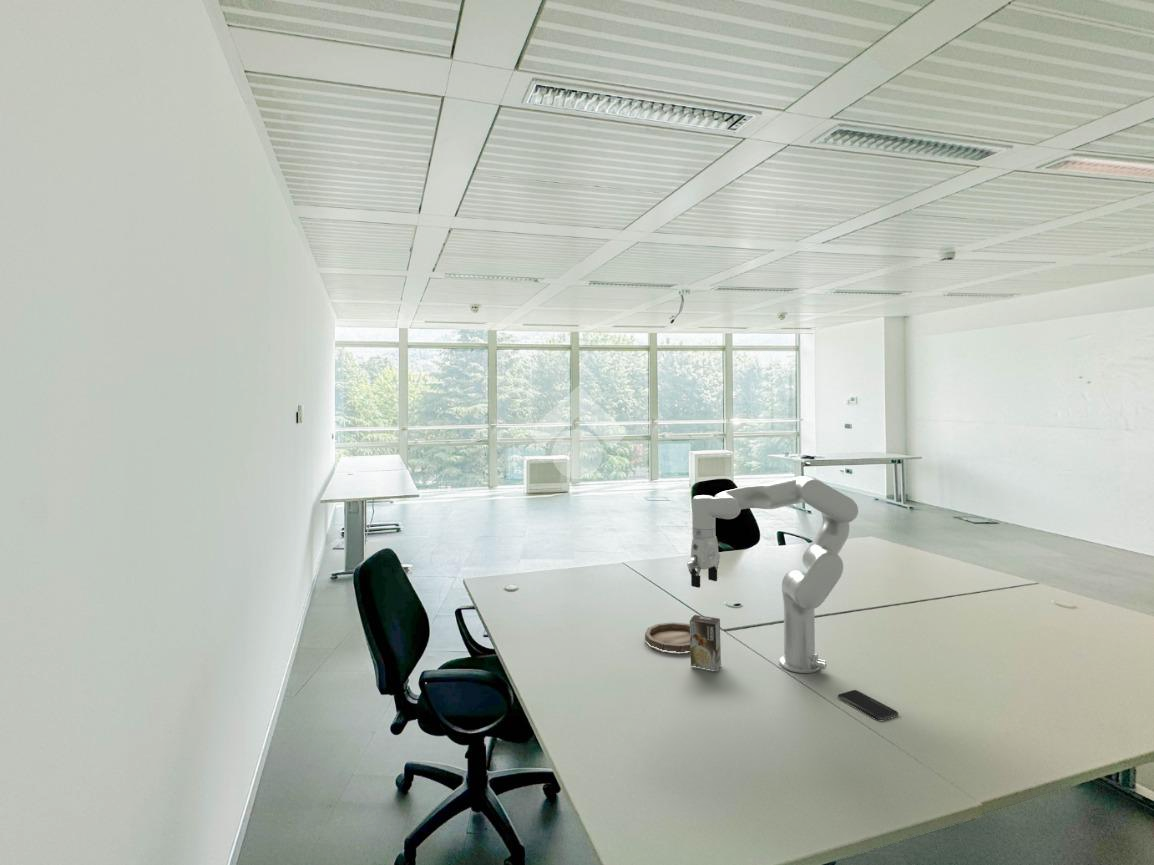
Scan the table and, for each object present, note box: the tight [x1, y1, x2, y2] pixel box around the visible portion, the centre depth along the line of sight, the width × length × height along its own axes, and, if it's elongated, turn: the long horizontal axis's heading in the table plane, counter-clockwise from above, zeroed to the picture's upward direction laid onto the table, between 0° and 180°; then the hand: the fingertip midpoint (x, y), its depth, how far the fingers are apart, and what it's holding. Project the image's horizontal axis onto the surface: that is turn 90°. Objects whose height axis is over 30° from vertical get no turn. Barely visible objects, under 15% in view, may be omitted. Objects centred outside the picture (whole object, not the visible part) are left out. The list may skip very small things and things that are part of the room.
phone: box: [837, 689, 899, 721], centre depth 168 cm, size 8×1×15 cm
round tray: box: [644, 622, 690, 652], centre depth 218 cm, size 22×22×3 cm
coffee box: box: [689, 614, 722, 671], centre depth 196 cm, size 9×6×16 cm
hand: (704, 583), depth 195 cm, fingers open, 9 cm apart
